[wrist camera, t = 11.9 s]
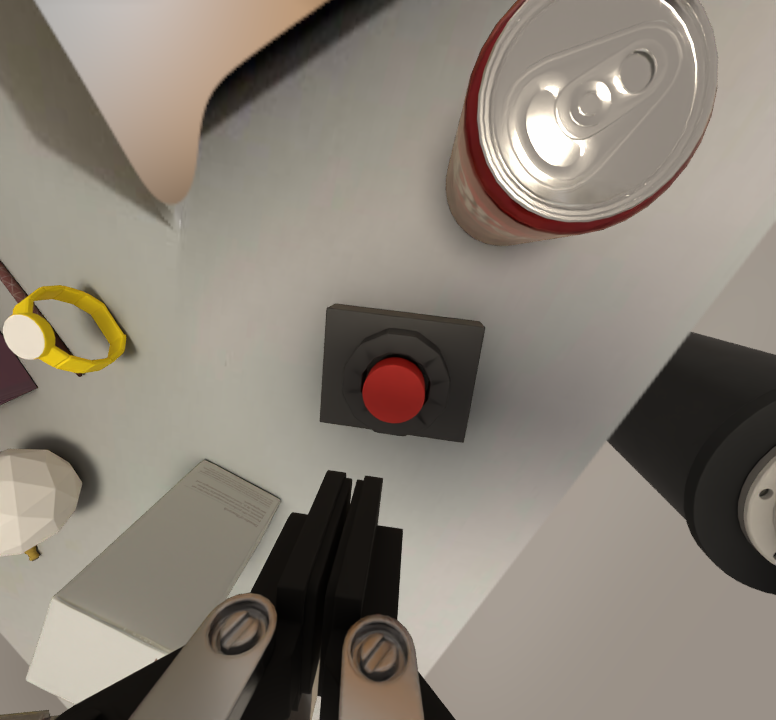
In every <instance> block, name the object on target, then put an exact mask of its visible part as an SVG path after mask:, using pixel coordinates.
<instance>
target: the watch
mask: <svg viewBox="0 0 776 720" xmlns="http://www.w3.org/2000/svg"><path fill="white" fill-rule="evenodd" d="M47 299H55V300H59V301H63V302H67V303H70V304H74V305H75V306H77V307H79V308H80V309H82V310H84V311H85V312H87V313H89V314H91V316H92V317H93V319H94V320H95V322H96V323H97V325H98V327H99V328H100V330H101V331H102V333H103V334H104V336H105V337H106V339H107V340H108V342H109V344H110V347H109V353H108V357H107V358H105V359H97V360H88V359H84V358H80V357H76V356H72V355H69V354H67V353H66V352H64V351H63V350H61V349H59V348H58V347H56V346H55V335H54V331H53V329H52V328H51V326H50V324H49V323H48V322H47V321H46V320H45V319H44V318H43V317H41V316H39V315H38V314H34V313H33V301H38V300H47ZM3 336H4V339H5V342H6V344H7V345H8V347H9V348H10V349H11V351H12V352H13V353H14V354H16V355H17V356H19V357H21V358H24V359H38V358H39V359H40V360H42V361H44V362H45V363H47V364H49V365H50V366H52V367H56V368H57V369H61V370H66V371H70V372H75V373H88V372H94V371H99V370H101V369H103V368H105V367H106V366H108V365H109V364H111V363H112V362H114V361H115V360H116V359H117V358H118V357H120V356H121V355H122V354H123V353H124V351H125V345H126V339H127V338H126V335H124V334H123V332H122V331H121V329H120V328H119V326H118V325H117V323H116V321H115V320H114V318H113V317H112V315H111V314H110V312H109V311H108V309H107V307H106V306H105V304H104V303H102V302H101V301H99V300H97V299H96V298H94V297H93V296H91V295H90V294H88V293H85V292H84V291H80V290H77V289H73V288H70V287H67V286H61V285H57V286H43V287H41V288H38V289H37V290H35V291H34V292H33V293H31V294H30V295H29V296H28V297H26V298H25V299H24V300H22V301H21V302H20V303H18V304H17V305H16V306H15V308H14V309H13V315H12V316H10V317H9V318H8V319H7V320H6V321H5V323H4V326H3Z"/></svg>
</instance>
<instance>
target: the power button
mask: <svg viewBox="0 0 776 720" xmlns="http://www.w3.org/2000/svg"><path fill="white" fill-rule="evenodd" d="M362 395H363V401H364V404H365V406H366V408H367V409H368V410H369V412H370V413H371V414H372V415H373V416H374V417H376V418H377V419H379V420H381V421H384V422H387V423H402V422H405V421H408V420H410V419H412V418H413V417H414V416H416V415H417V414H418V413H419V411H420V410H421V408H422V406H423V404H424V400H425V381H424V377H423V374H422V373H421V371H420V369H419V368H418V367H417V366H416V365H415V364H414V363H412V362H411V361H409V360H407V359H404V358H400V357H390V358H386V359H383V360H381V361H379V362H378V363H377V364H375V365H374V366H373V367H372V369H371V370H370V372H369V374H368V376H367V378H366V380H365V382H364V385H363V390H362Z"/></svg>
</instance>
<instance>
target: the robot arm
mask: <svg viewBox="0 0 776 720" xmlns="http://www.w3.org/2000/svg"><path fill="white" fill-rule="evenodd" d="M382 483H383V478H378V477H371V476H365V478H364V480H357V482H356V486H355V489H354V493H353V496H352V500H351V504H350V499H351V489H352V479H350V478H346V473H344V472H337V471H330V470H328V471H327V473H326V475H325V477H324V479H323V482H322V484H321V486H320V489H319V491H318V493H317V495H316V498H315V500H314V502H313V505H312V507H311V509H310V512H309V514H308V515H307V514H300V513H294V512H292V513H291V514H290V516H289V517H288V519H287V521H286V523H285V525H284V527H283V529H282V531H281V533H280V535H279V537H278V539H277V541H276V543H275V545H274V547H273V549H272V551H271V553H270V555H269V557H268V559H267V561H266V563H265V565H264V567H263V569H262V571H261V573H260V574H259V576H258V578H257V580H256V582H255V584H254V586H253V588H252V590H251V592H250V593H245V594H238V595H236V596H233V597H230V598H228V599H226V600H225V601H223V602H222V603H220V604H219V605H217V606H216V607H215V608H214V609H213V610H212V611H211V612H210V613H209V615H208V616H207V617H206V618H205V620H204V621H203V622H202V624H201V625H200V626H199V628H198V629H197V630H196V631H195V633H194V634H193V635H192V637H191V638H190V639H189V641H188V642H187V643H186V645H184V646H182V647H180V648H179V649H177V650H175V651H173V652H171V653H169V654H168V655H166V656H164V657H162V658H160V659H158V660H156V661H155V662H153V663H151V664H149V665H147V666H145V667H144V668H142V669H140V670H138V671H136V672H134V673H133V674H131V675H129V676H127V677H125V678H123V679H121V680H120V681H118V682H116V683H114V684H112V685H110V686H109V687H107V688H105V689H103V690H101V691H99V692H98V693H96V694H94V695H92V696H90V697H88V698H86V699H85V700H83V701H81V702H79V703H77V704H76V705H74V706H73V707H71V708H70V709H68V710H67V711H65V712H64V713H62V714H61V715H58V716H50V714H49V710H43V711H33V712H24V713H14V714H4V715H0V720H287V719H288V718H289V717H290V713H291V711H298V707H299V704H300V700H301V696H302V693H304V694H311V691H312V688H313V684H314V680H315V676H316V672H317V668H318V664H319V660H320V667H319V680H318V693H317V696H321V708H320V720H455V718H454V717H453V716H452V714H451V713H450V712H449V711H448V709H447V708H446V707H445V705H444V704H443V703H442V702H441V700H440V699H439V698H438V696H437V695H436V694H435V693H434V691H433V690H432V689H431V687H430V686H429V685H428V684H427V682H426V681H425V680H424V678H423V677H422V676H421V675H420V673H419V672H418V667H417V659H416V651H415V647H414V643H413V640H412V637H411V636H410V634H409V632H408V631H407V629H406V628H405V627H404V626H403V625H402V624H401V623H400V622H399V621H398V620H397V615H398V599H399V583H400V568H401V552H402V536H403V529H399V528H392V527H386V526H379V525H378V517H379V508H380V500H381V492H382ZM738 519H739V523H740V527H741V530H742V532H743V533H744V535H745V537H746V539H747V541H748V542H749V543H750V544H751V545H752V546H753V547H754V548H755V549H756V550H757V551H758V552H759V553H760V554H761V555H763V556H764V557H765V558H766V559H767V560H768V561H770V562H771V563H772V564H774V565H776V446H775V447H774V448H772V449H771V450H770V451H769V452H768V453H767V454H766V455H765V456H764V457H763V458H761V459H760V460H759V462H758V463H757V464H756V465H755V467H754V468H753V469H752V471H751V472H750V473H749V475H748V477H747V479H746V481H745V483H744V485H743V487H742V489H741V493H740V497H739V501H738Z"/></svg>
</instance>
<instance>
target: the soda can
mask: <svg viewBox="0 0 776 720" xmlns="http://www.w3.org/2000/svg"><path fill="white" fill-rule="evenodd" d="M717 83H718V53H717V47H716V42H715V36H714V31H713V28H712V26H711V23H710V21H709V18H708V16H707V14H706V11H705V9H704V7H703V6H702V4H701V3H700V1H699V0H517V1H516V2H515V3H514V4H513V5H512V7H511V8H510V9H509V10H508V11H507V12H506V14H505V15H504V16H503V17H502V18H501V19H500V21H499V22H498V23H497V24H496V25H495V27H494V29H493V30H492V32H491V34H490V35H489V37H488V39H487V40H486V42H485V44H484V45H483V47H482V49H481V51H480V53H479V56H478V58H477V61H476V63H475V66H474V68H473V71H472V73H471V76H470V80H469V84H468V88H467V92H466V96H465V100H464V104H463V108H462V112H461V116H460V120H459V124H458V128H457V132H456V136H455V140H454V144H453V149H452V153H451V157H450V161H449V165H448V169H447V174H446V196H447V202H448V205H449V208H450V211H451V213H452V215H453V217H454V218H455V220H456V222H457V223H458V225H459V226H460V227H461V228H462V229H463V230H464V231H465V232H466V233H467V234H469V235H470V236H471V237H473V238H474V239H476V240H478V241H481V242H483V243H485V244H490V245H495V246H510V245H517V244H523V243H529V242H536V241H542V240H548V239H555V238H561V237H568V236H574V235H580V234H585V233H590V232H595V231H600V230H604V229H606V228H609V227H611V226H614V225H616V224H618V223H621V222H623V221H626V220H627V219H629V218H631V217H632V216H634V215H635V214H637V213H639V212H640V211H642V210H643V209H645V208H647V207H648V206H649V205H650V204H651V203H652V202H654V201H655V200H656V199H657V198H658V197H659V196H660V195H662V194H663V193H664V192H665V191H666V190H667V189H668V188H669V187H670V186H671V184H672V183H673V182H674V181H675V180H676V178H677V177H678V176H679V175H680V174H681V172H682V171H683V170H684V169H685V168H686V166H687V165H688V163H689V162H690V160H691V158H692V157H693V155H694V153H695V151H696V150H697V148H698V146H699V145H700V143H701V141H702V139H703V136H704V133H705V131H706V128H707V126H708V123H709V121H710V118H711V116H712V111H713V106H714V101H715V97H716V92H717Z"/></svg>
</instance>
